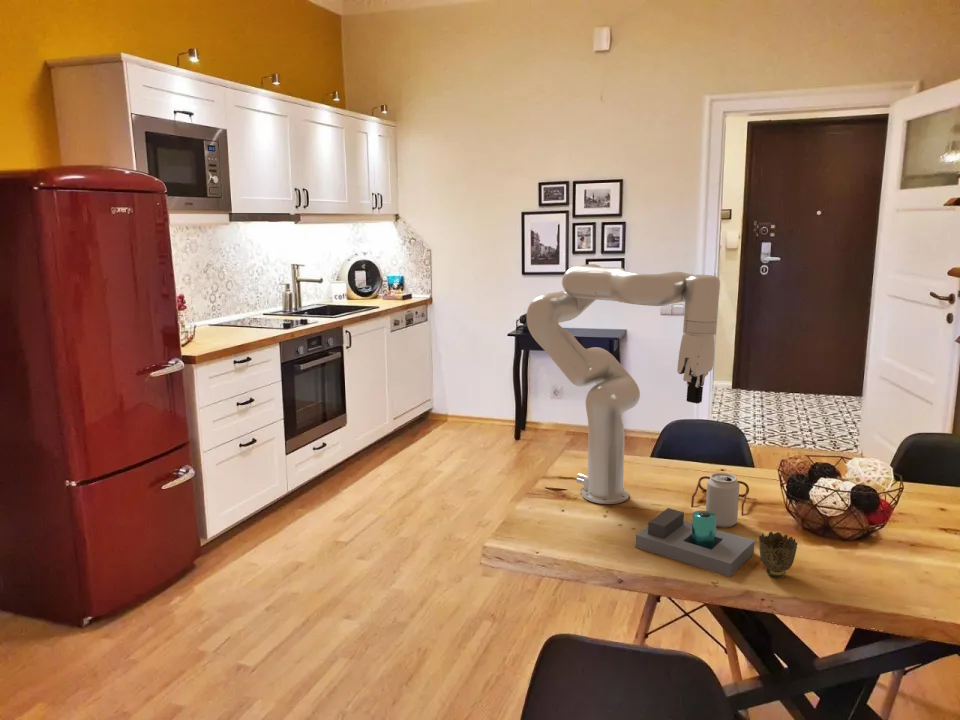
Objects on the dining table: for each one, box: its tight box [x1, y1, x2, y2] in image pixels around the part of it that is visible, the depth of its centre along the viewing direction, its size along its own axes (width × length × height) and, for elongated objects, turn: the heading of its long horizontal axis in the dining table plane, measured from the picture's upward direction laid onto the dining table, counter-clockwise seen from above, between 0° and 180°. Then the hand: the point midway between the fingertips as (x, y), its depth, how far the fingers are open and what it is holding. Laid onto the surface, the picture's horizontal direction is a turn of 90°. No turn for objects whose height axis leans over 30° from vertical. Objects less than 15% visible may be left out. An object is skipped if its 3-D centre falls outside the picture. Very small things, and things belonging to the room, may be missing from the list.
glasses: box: [690, 475, 750, 516], centre depth 186 cm, size 13×13×5 cm
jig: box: [634, 507, 756, 578], centre depth 160 cm, size 22×14×6 cm, turn 50°
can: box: [705, 472, 740, 529], centre depth 173 cm, size 8×8×12 cm
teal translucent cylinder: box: [691, 509, 717, 550], centre depth 158 cm, size 5×5×9 cm
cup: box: [758, 531, 798, 578], centre depth 148 cm, size 8×7×8 cm
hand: (694, 401), depth 172 cm, fingers closed
